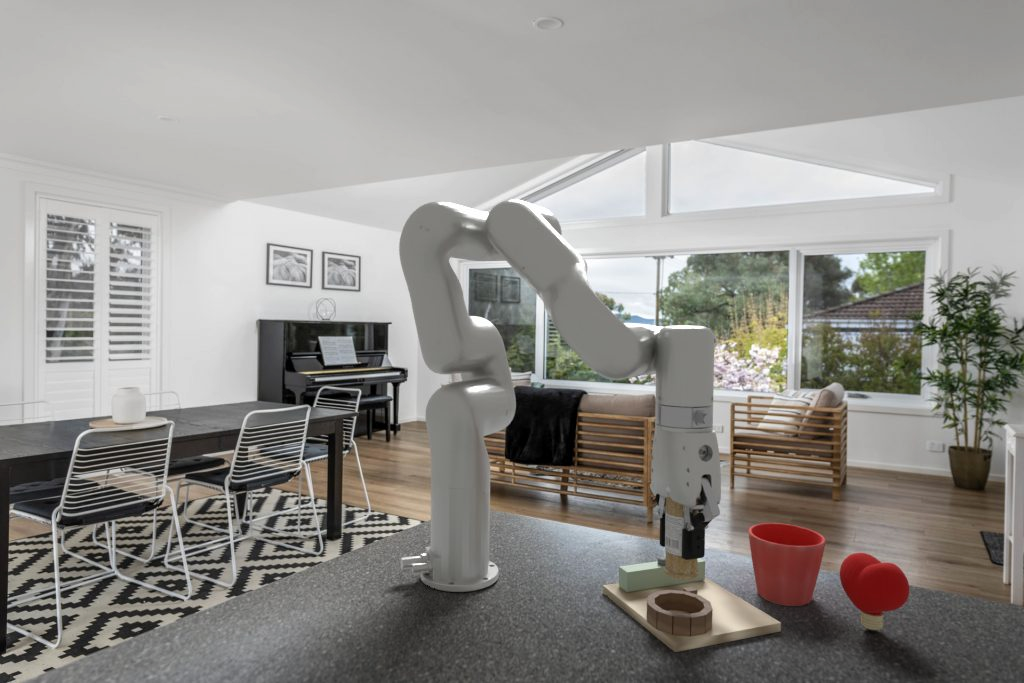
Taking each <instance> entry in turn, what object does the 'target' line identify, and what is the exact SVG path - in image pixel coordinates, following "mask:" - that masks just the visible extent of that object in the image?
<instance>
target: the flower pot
mask: <svg viewBox="0 0 1024 683" xmlns="http://www.w3.org/2000/svg"><path fill="white" fill-rule="evenodd" d="M748 539H749V549H750V556H751V561H752V569H753V574H754V579H755V580H754V581H755V585H756V590H757V593H758V595H759V596H760V597H761V598H763V599H764V600H766V601H768V602H770V603H773V604H776V605H781V606H787V607H800V606H801V607H802V606H805V605H808V604H810V603H811V601H812V600H813V597H814V596H813V595H814V592H815V588H816V583H817V581H818V578H819V572H820V569H821V565H822V560H823V558H824V557H823V556H824V551H825V547H826V546H825V545H826V538H825V537H824V536H823V535H822V534H821V533H818V532H817V531H814V530H812V529H810V528H806V527H803V526H798V525H793V524H787V523H778V522H768V523H767V522H766V523H765V522H764V523H758V524H755V525H752V526H750V527H749V529H748Z"/></svg>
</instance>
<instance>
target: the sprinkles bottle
mask: <svg viewBox="0 0 1024 683" xmlns="http://www.w3.org/2000/svg"><path fill="white" fill-rule="evenodd" d="M666 490H667V491H669V492H671V490H670V488H669V487H668V486H667V488H666ZM667 494H668V496H669V493H667ZM696 503H697V504H698V500H696ZM692 512H693V518H694V516H695V515H696V514H697V513H698V510H692ZM682 529H686V526H685V518H684V509H683V505H680V504H678V503H677V502H675V501H673V500H672V499H671V497H667V498H666V512H665V547H664V549H665V557H666V566H665V570H664V571H665V573H666V574H667V575H668V576H670V577H672V578H676V579H680V580H689V579H693V578H696V577H697V576H698V558H697V559H690V560H685V559H683V558H682Z"/></svg>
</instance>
